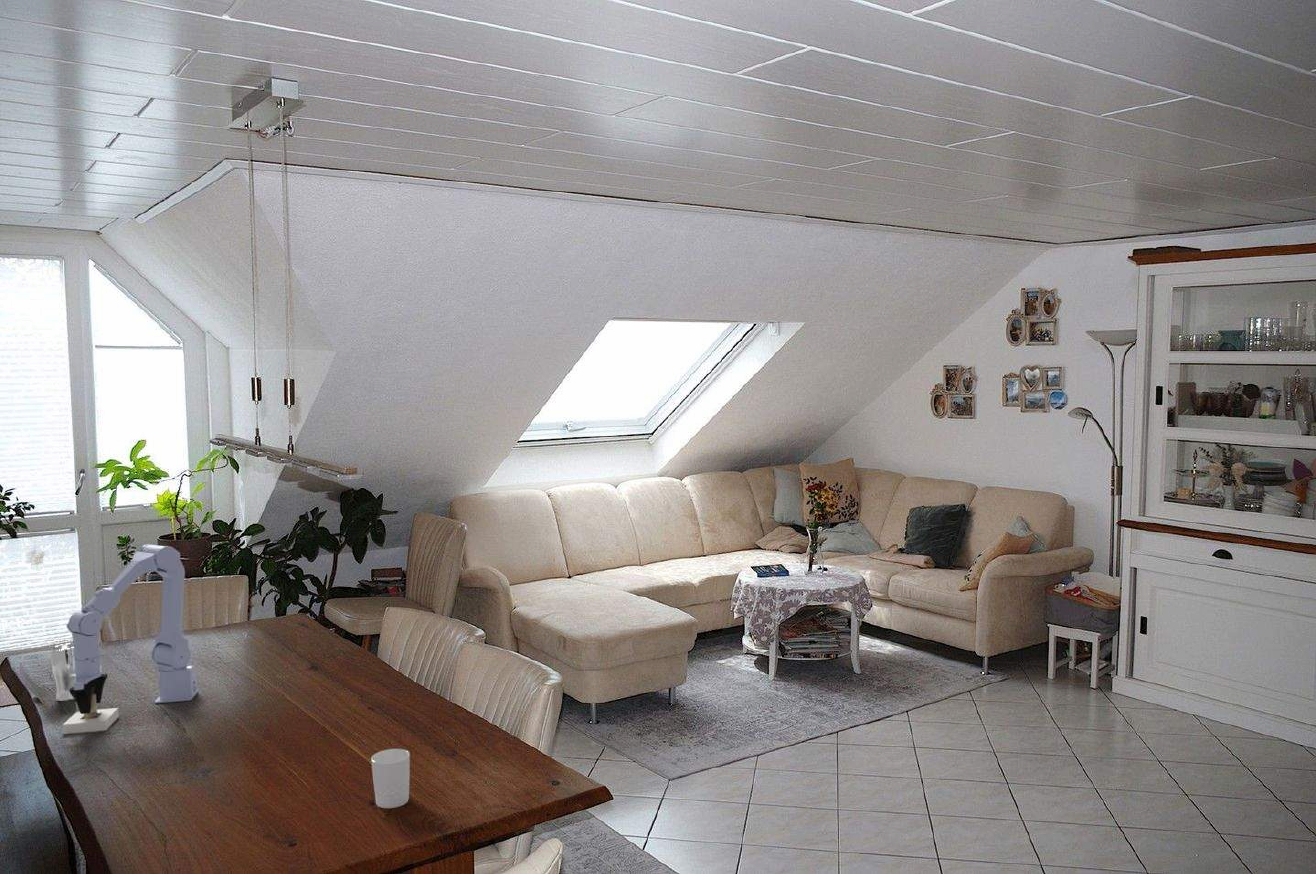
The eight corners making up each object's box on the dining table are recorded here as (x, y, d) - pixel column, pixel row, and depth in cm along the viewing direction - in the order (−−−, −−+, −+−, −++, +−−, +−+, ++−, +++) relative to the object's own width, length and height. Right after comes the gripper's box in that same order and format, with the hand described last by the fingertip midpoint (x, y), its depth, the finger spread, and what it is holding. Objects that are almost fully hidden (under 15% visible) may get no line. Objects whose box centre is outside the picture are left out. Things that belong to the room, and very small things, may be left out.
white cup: (377, 794, 215) (375, 749, 214) (414, 792, 215) (412, 747, 214) (369, 811, 207) (367, 764, 206) (408, 809, 207) (406, 762, 207)
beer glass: (69, 703, 278) (65, 650, 277) (48, 701, 280) (44, 649, 279) (88, 694, 285) (84, 643, 284) (67, 693, 287) (63, 642, 285)
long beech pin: (99, 722, 262) (97, 693, 262) (95, 727, 259) (93, 697, 259) (87, 724, 261) (84, 694, 261) (83, 728, 259) (80, 698, 258)
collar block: (118, 717, 266) (118, 707, 266) (105, 730, 256) (105, 721, 256) (78, 720, 264) (77, 711, 264) (63, 734, 254) (62, 724, 254)
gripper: (80, 650, 265) (84, 700, 266) (59, 667, 251) (63, 719, 252) (109, 648, 267) (112, 697, 268) (89, 664, 252) (93, 716, 254)
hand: (90, 708), depth 260 cm, fingers open, 7 cm apart
